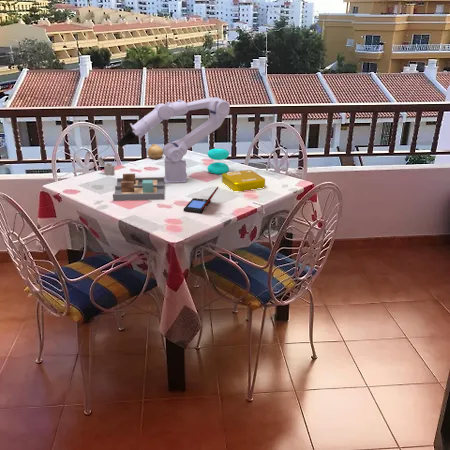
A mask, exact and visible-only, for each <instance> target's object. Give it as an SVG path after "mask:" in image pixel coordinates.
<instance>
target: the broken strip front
mask: <svg viewBox="0 0 450 450" xmlns="http://www.w3.org/2000/svg"><path fill="white" fill-rule="evenodd" d="M122 178H123V181H134V185H138V180H135V178H136V173H122Z"/></svg>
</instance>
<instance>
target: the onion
mask: <svg viewBox="0 0 450 450" xmlns="http://www.w3.org/2000/svg"><path fill="white" fill-rule="evenodd" d="M146 151H147V156H148V158H151V159H153V160H158V159H161V158H162V157H163V156H164V154H163V147H161V146H160V145H158V144H156V143H151V146H149V148H147V150H146Z"/></svg>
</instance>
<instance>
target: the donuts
mask: <svg viewBox="0 0 450 450" xmlns="http://www.w3.org/2000/svg"><path fill="white" fill-rule="evenodd" d="M206 155H207V157H209V159H211V160H214V161H217V162H212V163H209V165H208V166H207V167H206V168H207V171H208V172H209V173H210V172H211V173H210V174H213V173H215V174H216V175H221V174H220V173H225V172H226V173H228V172H229V170H230V167H229V165H228V164H226V163H225V162H218V161H222V160H226V159H227V158H228V157H229V156H230V152H229V151H228V150H227V149H224V148H211V149H209V150H208V151H207V154H206ZM227 171H228V172H227ZM215 174H214V175H215Z"/></svg>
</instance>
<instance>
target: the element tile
mask: <svg viewBox="0 0 450 450" xmlns="http://www.w3.org/2000/svg"><path fill="white" fill-rule="evenodd" d="M222 182H223V183H224V184H225V186H226V185H227V186H228V187H229V188H230V189H229V188H228V187H227V186H226V187H227V188H228V189H229V190H231V189H232V190H233V191H232V190H231V191H232V192H234V191H243V192H245V191H244V190H250V191H252V190H251V189H257V188H263V187H265V188H266V178H264V177H263V176H262V175H260V174H259V173H257V172H255V171H254V170H252V169H246V170H245V169H244V170H238V171H228V172H226V173H223V174H221V183H222ZM223 183H222V184H223ZM224 184H223V185H224ZM263 189H264V188H263ZM257 190H258V189H257Z"/></svg>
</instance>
